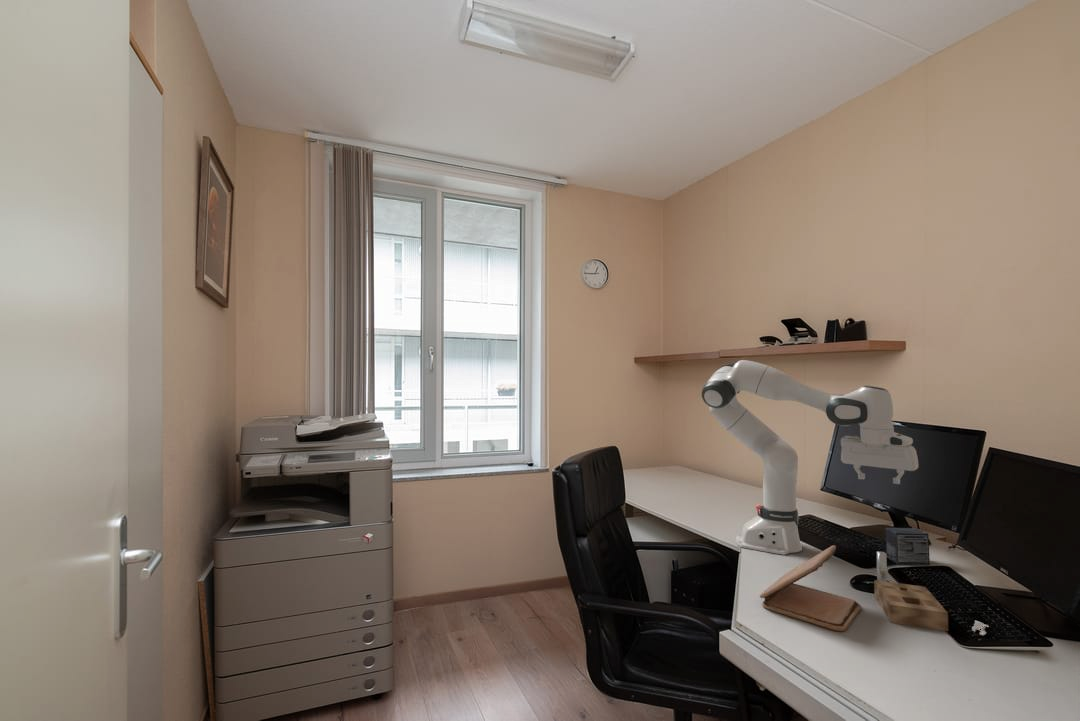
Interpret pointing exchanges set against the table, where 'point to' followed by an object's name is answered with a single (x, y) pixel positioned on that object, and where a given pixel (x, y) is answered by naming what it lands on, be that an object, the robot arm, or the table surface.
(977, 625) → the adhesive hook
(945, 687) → the table surface
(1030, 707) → the table surface
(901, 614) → the wooden flat block
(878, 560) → the gauge pin
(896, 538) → the small box
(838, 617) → the case
